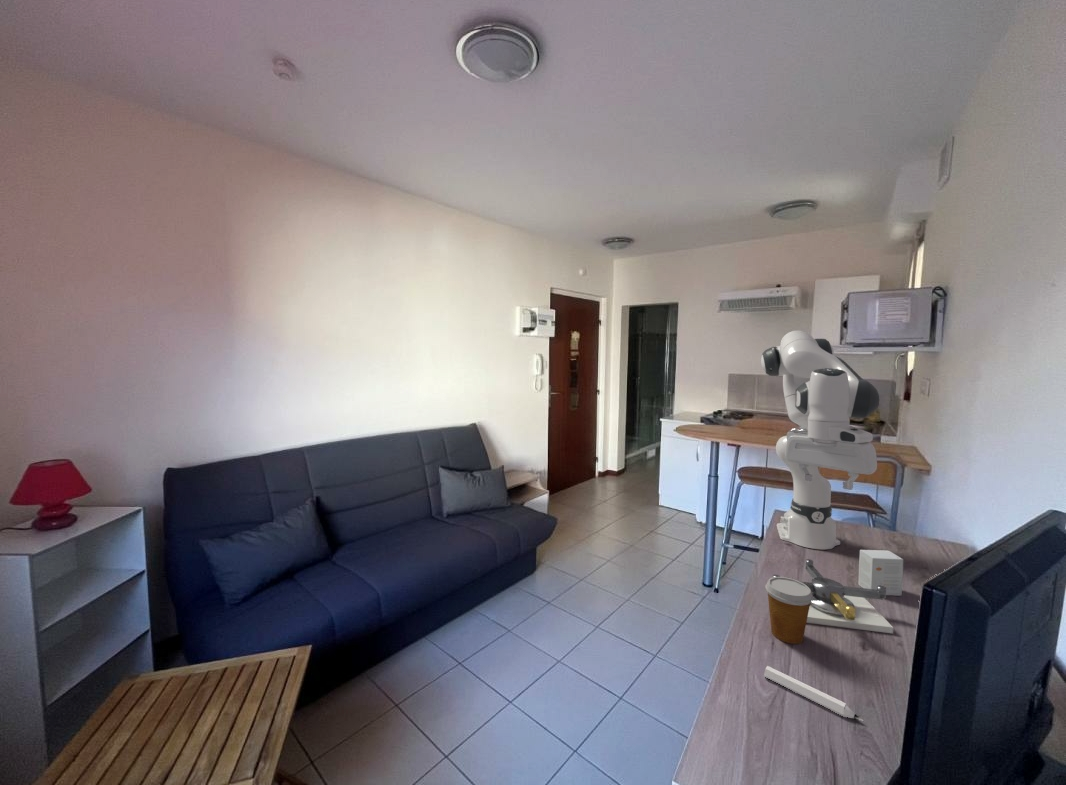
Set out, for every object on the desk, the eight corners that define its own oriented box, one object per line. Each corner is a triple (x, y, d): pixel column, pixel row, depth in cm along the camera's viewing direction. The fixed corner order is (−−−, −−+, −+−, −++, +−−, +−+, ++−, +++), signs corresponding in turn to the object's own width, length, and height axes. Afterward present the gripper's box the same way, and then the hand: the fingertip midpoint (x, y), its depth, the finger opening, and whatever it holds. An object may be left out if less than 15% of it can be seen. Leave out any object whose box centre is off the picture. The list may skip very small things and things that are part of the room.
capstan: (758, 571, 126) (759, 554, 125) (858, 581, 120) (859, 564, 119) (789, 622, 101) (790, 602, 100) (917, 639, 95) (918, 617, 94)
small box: (887, 585, 121) (889, 550, 120) (902, 596, 116) (904, 559, 115) (857, 584, 122) (859, 548, 121) (870, 595, 116) (872, 557, 116)
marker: (863, 730, 75) (765, 680, 86) (865, 718, 76) (768, 670, 87) (862, 722, 74) (763, 672, 85) (865, 711, 75) (766, 663, 86)
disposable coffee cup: (819, 651, 94) (821, 599, 93) (772, 646, 95) (774, 594, 95) (800, 625, 103) (802, 577, 102) (758, 621, 105) (759, 574, 104)
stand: (774, 584, 122) (775, 572, 122) (854, 593, 117) (855, 580, 117) (798, 621, 104) (798, 607, 104) (893, 633, 100) (893, 618, 99)
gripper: (780, 428, 116) (779, 478, 117) (868, 437, 98) (866, 496, 99) (793, 426, 119) (792, 475, 120) (880, 435, 102) (879, 492, 102)
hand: (827, 484), depth 109 cm, fingers open, 8 cm apart
